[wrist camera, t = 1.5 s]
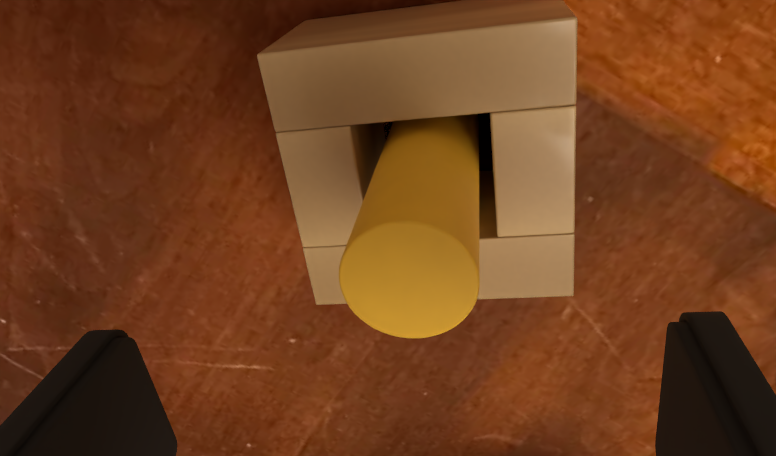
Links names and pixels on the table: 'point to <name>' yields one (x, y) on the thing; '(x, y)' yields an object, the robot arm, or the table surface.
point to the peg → (418, 231)
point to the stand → (430, 100)
